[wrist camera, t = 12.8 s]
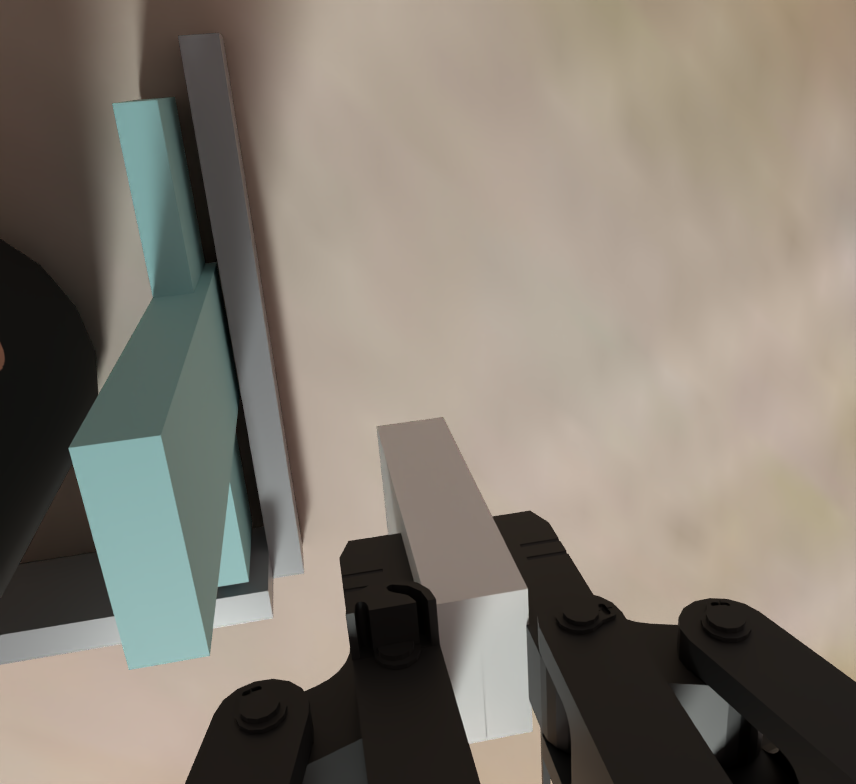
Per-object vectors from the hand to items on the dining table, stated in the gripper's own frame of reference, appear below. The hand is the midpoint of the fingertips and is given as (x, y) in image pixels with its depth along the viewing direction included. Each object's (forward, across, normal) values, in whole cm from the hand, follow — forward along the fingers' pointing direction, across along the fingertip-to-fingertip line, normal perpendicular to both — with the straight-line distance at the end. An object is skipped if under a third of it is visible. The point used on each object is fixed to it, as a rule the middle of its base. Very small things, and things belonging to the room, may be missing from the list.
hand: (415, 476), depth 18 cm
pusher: (+13, -6, 0) cm, 14 cm away
